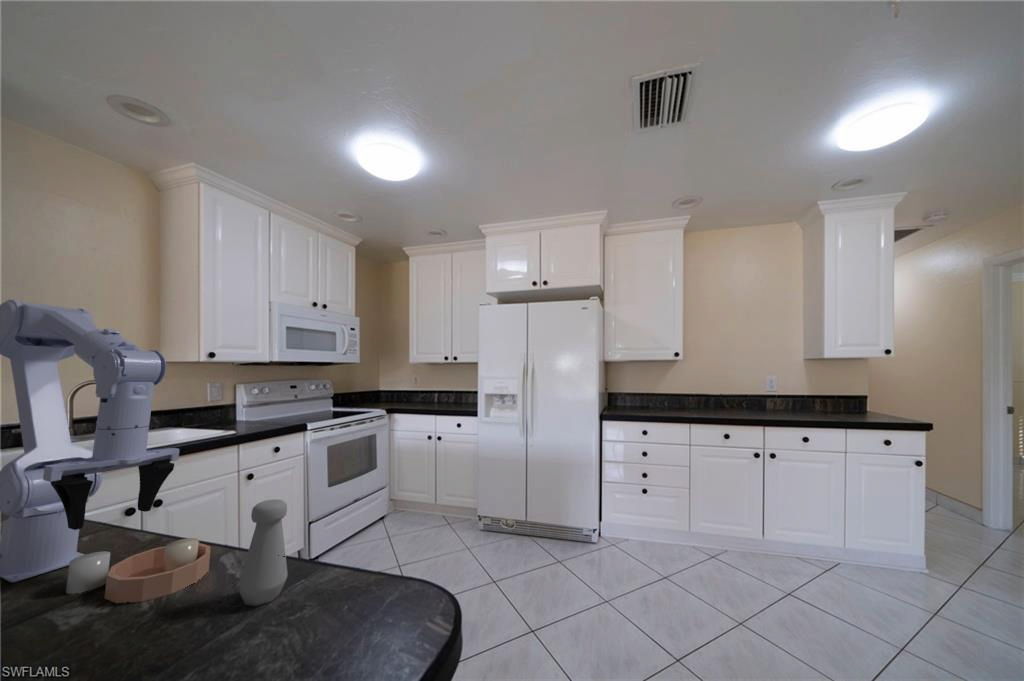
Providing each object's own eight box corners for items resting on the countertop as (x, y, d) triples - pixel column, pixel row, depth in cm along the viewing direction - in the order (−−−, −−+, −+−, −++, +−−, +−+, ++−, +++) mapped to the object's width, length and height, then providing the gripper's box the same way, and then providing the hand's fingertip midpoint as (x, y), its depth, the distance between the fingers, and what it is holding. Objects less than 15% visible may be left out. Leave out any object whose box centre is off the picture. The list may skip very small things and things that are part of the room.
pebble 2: (156, 573, 57) (159, 546, 58) (186, 561, 61) (189, 536, 61) (171, 579, 56) (174, 551, 56) (202, 566, 59) (204, 540, 60)
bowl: (89, 591, 53) (91, 569, 53) (181, 556, 63) (183, 538, 64) (133, 610, 49) (136, 586, 49) (224, 570, 59) (226, 550, 60)
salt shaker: (261, 613, 49) (269, 510, 50) (225, 606, 50) (234, 507, 51) (295, 588, 55) (302, 497, 56) (262, 583, 56) (270, 494, 57)
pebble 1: (59, 590, 53) (63, 561, 53) (98, 576, 57) (102, 549, 57) (73, 597, 52) (77, 566, 52) (112, 582, 55) (116, 554, 56)
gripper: (68, 435, 49) (52, 543, 48) (193, 423, 63) (184, 507, 61) (42, 431, 52) (26, 533, 50) (168, 421, 65) (159, 501, 64)
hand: (111, 518), depth 56 cm, fingers open, 7 cm apart
